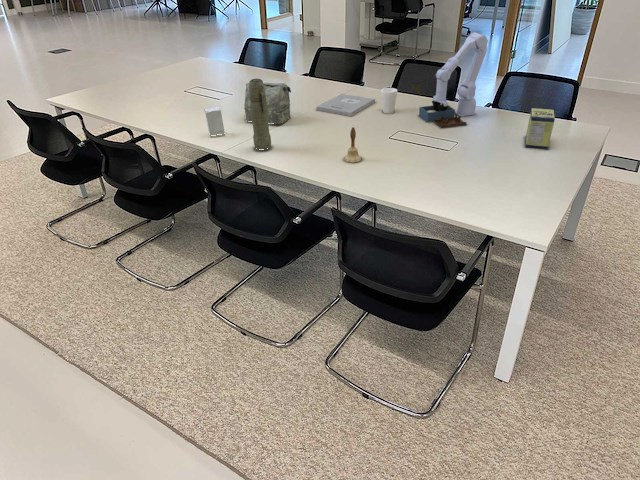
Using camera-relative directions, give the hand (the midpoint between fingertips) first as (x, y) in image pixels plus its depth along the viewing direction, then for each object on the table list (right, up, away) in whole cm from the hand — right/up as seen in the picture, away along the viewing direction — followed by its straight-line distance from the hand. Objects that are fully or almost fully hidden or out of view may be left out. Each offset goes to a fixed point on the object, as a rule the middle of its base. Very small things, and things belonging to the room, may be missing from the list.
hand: (438, 114), depth 284 cm
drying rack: (+4, -7, -9) cm, 13 cm away
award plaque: (-53, +11, +23) cm, 59 cm away
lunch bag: (-99, -1, +7) cm, 99 cm away
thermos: (-99, -25, -29) cm, 106 cm away
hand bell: (-53, -33, -45) cm, 77 cm away
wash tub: (-1, -1, 0) cm, 2 cm away
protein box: (+41, -24, -36) cm, 59 cm away
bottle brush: (-2, +1, -1) cm, 2 cm away
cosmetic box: (-126, -14, -11) cm, 128 cm away
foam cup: (-28, +5, +12) cm, 30 cm away
